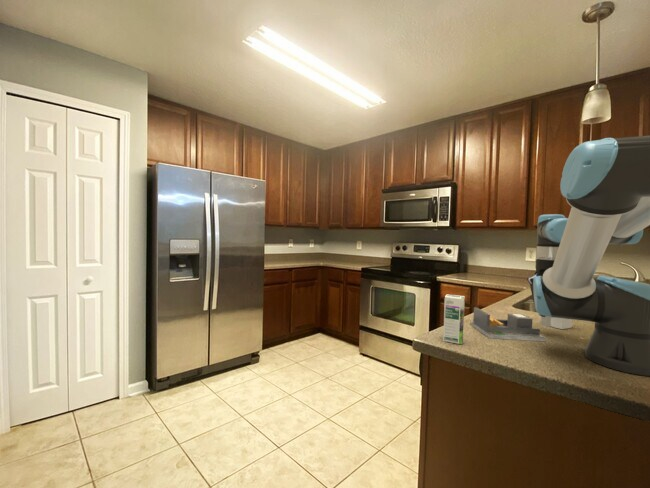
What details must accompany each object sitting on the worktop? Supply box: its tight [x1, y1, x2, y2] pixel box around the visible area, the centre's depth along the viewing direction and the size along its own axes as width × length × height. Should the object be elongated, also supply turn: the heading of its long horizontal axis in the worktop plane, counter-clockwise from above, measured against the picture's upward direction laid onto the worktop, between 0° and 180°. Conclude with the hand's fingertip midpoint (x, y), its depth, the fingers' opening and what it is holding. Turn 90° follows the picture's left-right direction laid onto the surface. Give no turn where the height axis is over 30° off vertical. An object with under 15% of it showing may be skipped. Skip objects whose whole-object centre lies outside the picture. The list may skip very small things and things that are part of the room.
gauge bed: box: [469, 307, 547, 342], centre depth 104 cm, size 15×18×7 cm
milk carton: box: [550, 317, 573, 330], centre depth 113 cm, size 7×7×19 cm
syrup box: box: [442, 293, 466, 345], centre depth 94 cm, size 6×6×14 cm
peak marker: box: [489, 317, 503, 326], centre depth 102 cm, size 10×2×3 cm, turn 175°
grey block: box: [506, 313, 533, 328], centre depth 103 cm, size 6×5×5 cm
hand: (545, 325), depth 103 cm, fingers closed
